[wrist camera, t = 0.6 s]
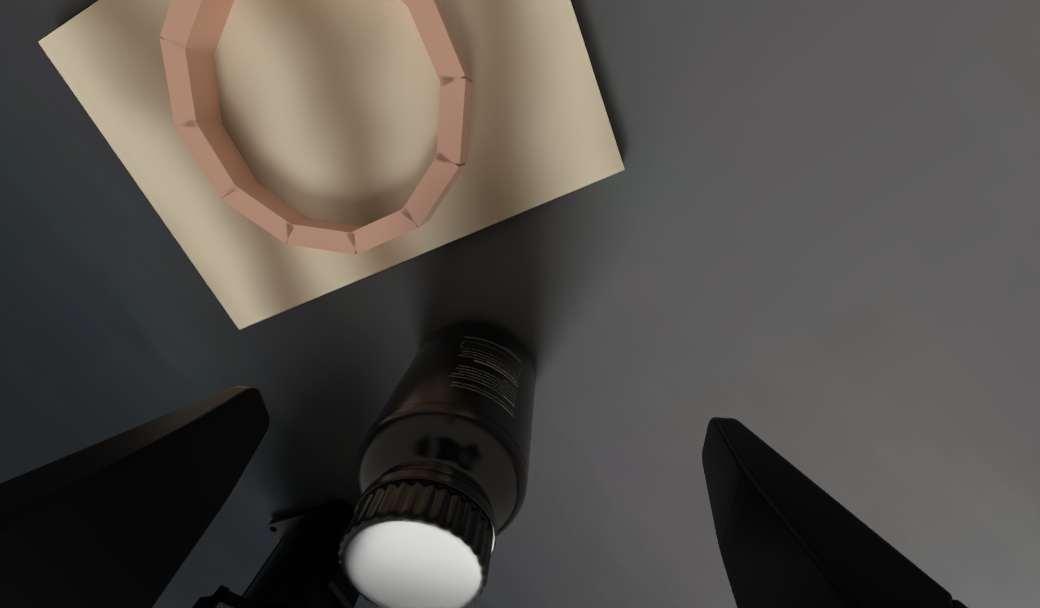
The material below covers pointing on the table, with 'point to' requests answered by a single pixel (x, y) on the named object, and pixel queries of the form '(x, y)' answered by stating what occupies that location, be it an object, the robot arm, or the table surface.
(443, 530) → the supplement bottle
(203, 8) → the ring collar
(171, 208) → the birch board
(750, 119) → the table surface
